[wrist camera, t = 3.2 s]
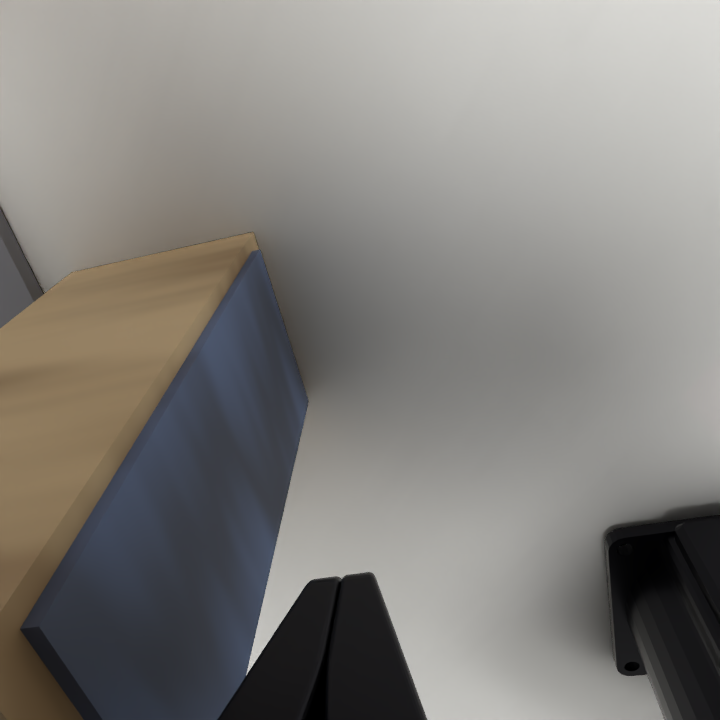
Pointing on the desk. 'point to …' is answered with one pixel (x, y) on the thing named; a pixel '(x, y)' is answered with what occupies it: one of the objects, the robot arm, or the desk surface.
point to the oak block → (142, 484)
